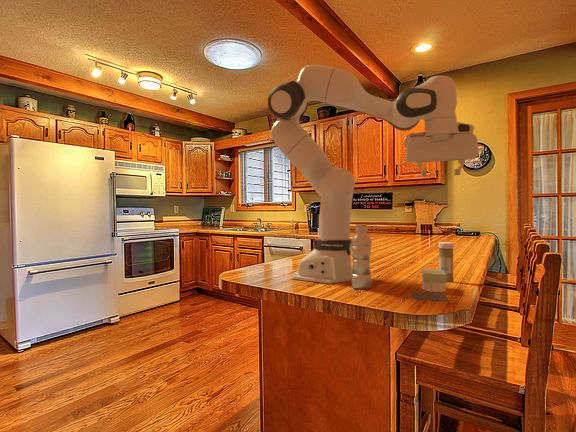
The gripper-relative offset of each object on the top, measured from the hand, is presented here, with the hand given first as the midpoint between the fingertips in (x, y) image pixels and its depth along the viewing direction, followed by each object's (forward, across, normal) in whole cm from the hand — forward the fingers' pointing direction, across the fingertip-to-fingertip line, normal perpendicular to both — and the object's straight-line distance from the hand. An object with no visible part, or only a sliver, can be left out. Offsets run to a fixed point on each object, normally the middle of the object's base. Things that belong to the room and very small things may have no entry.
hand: (440, 175), depth 97 cm
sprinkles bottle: (+35, +3, +10) cm, 37 cm away
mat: (+35, -4, -13) cm, 38 cm away
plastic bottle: (+35, -23, -8) cm, 43 cm away
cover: (+32, -2, -4) cm, 32 cm away
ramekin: (+35, -2, -4) cm, 35 cm away
